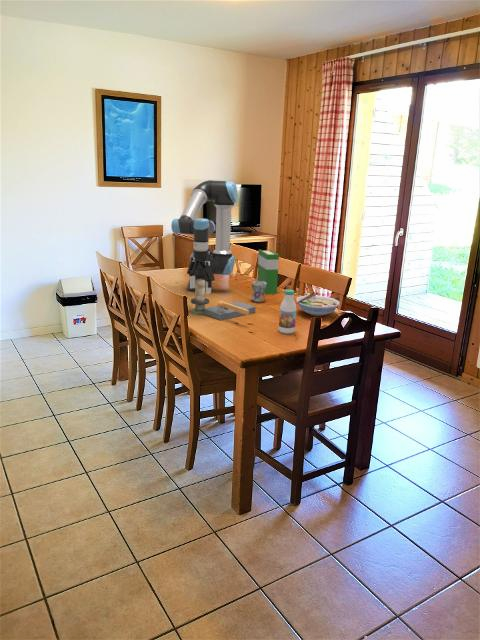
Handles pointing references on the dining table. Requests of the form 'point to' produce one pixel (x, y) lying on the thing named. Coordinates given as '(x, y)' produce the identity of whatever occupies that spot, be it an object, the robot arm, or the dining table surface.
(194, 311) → the pad
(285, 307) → the milk bottle
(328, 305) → the ramen bowl
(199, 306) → the plug
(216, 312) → the socket board
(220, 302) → the clip
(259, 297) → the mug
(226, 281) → the dining table surface
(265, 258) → the green cereal box
